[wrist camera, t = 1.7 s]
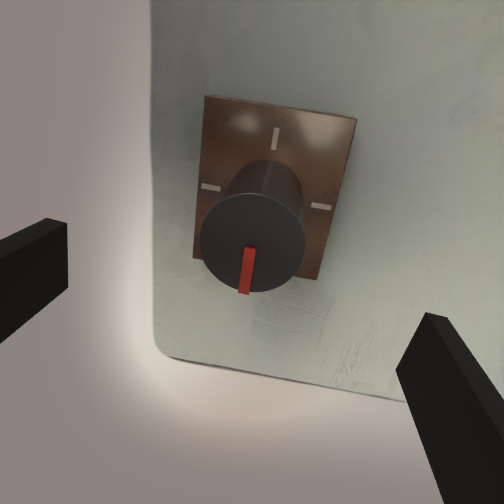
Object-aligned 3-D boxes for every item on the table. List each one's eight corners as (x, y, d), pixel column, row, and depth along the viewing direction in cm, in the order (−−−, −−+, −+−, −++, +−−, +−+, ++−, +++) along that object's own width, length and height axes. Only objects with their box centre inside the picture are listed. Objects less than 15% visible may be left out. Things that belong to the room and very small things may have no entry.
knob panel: (211, 94, 24) (204, 94, 22) (353, 117, 24) (358, 119, 22) (198, 248, 29) (191, 259, 27) (315, 269, 29) (316, 281, 27)
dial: (234, 153, 24) (200, 185, 15) (309, 166, 23) (317, 205, 15) (226, 224, 26) (193, 285, 17) (294, 236, 26) (294, 304, 17)
